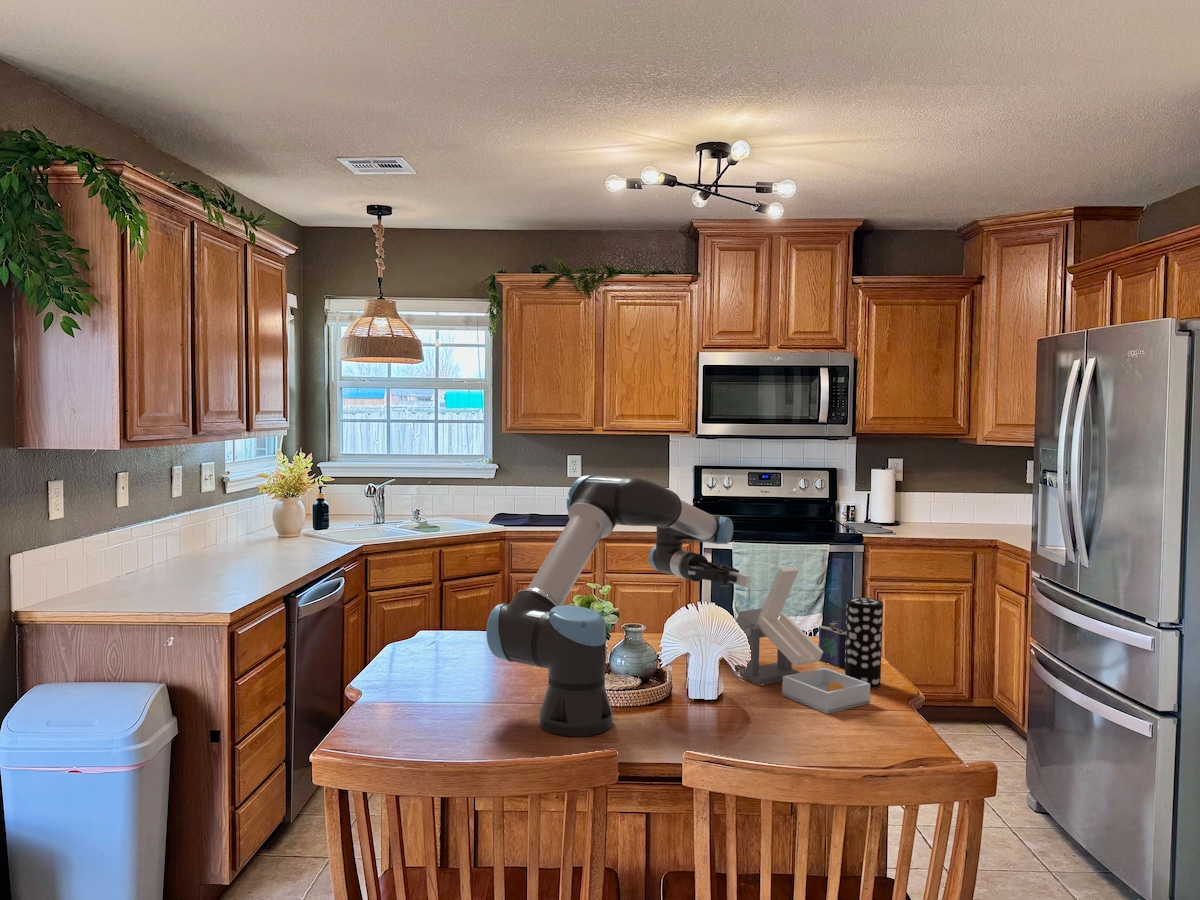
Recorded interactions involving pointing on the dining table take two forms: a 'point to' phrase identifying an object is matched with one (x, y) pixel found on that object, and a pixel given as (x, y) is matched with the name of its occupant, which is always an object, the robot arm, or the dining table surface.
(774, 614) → the chute
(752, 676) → the stand
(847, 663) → the spotted tube
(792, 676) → the grey storage tray
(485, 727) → the dining table surface
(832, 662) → the flask
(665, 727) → the dining table surface
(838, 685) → the ball
